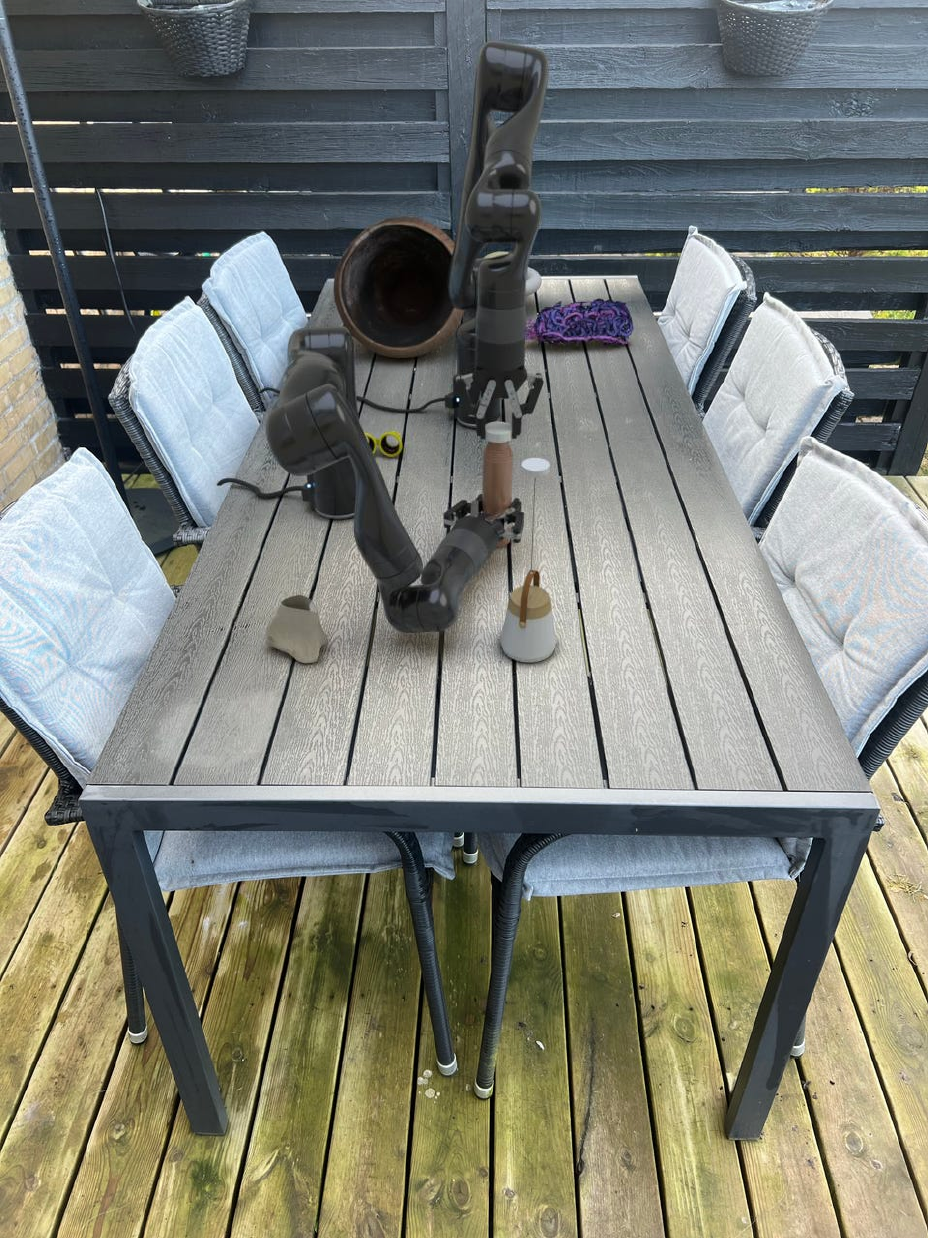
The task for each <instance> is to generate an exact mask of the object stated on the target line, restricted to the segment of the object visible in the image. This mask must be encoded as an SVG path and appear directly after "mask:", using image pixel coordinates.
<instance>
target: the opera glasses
mask: <svg viewBox="0 0 928 1238" xmlns="http://www.w3.org/2000/svg"><path fill="white" fill-rule="evenodd" d="M364 434H365V436H366V438H367V440H368V443H369V445H370V448H371V450H372V453H373V455H375V453H376V452H377V450H378V449H379V451H380V452H381V453H382V455H384V456H386V457H389V458H394V457H397V456H399V455H400V453H401V452H402V451H403V450H402V449H403V442H402V436H401V434H400V433H399V432H397V431H395V430H389V431H387V432H384V433H382V434H381V435H380V436H379V438H375V436H373V435H372V434H370V433H366V432H364ZM388 436H392V437H394V438H395V439H396V440H397V442H398V443H397V444H395V445H391V444H389V443H388V439H387V437H388ZM377 448H378V449H377Z"/></svg>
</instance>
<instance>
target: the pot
mask: <svg viewBox="0 0 928 1238" xmlns="http://www.w3.org/2000/svg"><path fill="white" fill-rule="evenodd" d="M454 246H455V242H454V241H453V239H452V238H451V237H450V236H448V235H447V233H445V232H444V231H443V230H442V229H441V228H439V227H438V226H436V225H435V224H433V223H431V222H429V221H427V220H424V219H422V218H418V217H415V216H414V217H413V216H408V215H407V216H392V217H386V218H383V219H381V220H379V221H377V222H375V223H373V224H371V225H370V226H368V227H367V228H365V229H364V230H363V231H361V232H360V234H358V235H357V236H356V237H355V238H354V239H353V240H352V241H351V242H350V243H349V245H348V246H347V248H346V249H345V250H344V252H343V255H342V256H341V257H340V260H339V261H338V264H337V266H336V268H335V271H334V278H333V299H334V303H335V307H336V310H337V313H338V315H339V317H340V320H341V321H342V324H343V325H344V327H347V328H348V329H349V331H350V332H351V335H352V338H353V339H355V340H356V341H357V342H358V343H360V345H362V346H363V347H364V348H366V349H367V350H368V351H371V352H372V353H376V354H377V355H380V356H383V357H387V358H392V359H393V358H394V359H409V358H416V357H421V356H423V355H426V354H429V353H431V352H434V351H435V350H437V349H439V348H440V347H441V346H443V345H444V344H446V342H447V341H448V340H449V339H450V338H451V337H452V336H453V335H454V333H456V331H457V328H458V326H459V325H460V324H461V323H462V320H463V317H464V314H465V311H466V310H458V309H456V308H454V307H453V306H452V305H451V303H450V301H449V298H448V291H447V281H448V272H449V267H450V262H451V258H452V254H453V250H454Z"/></svg>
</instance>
